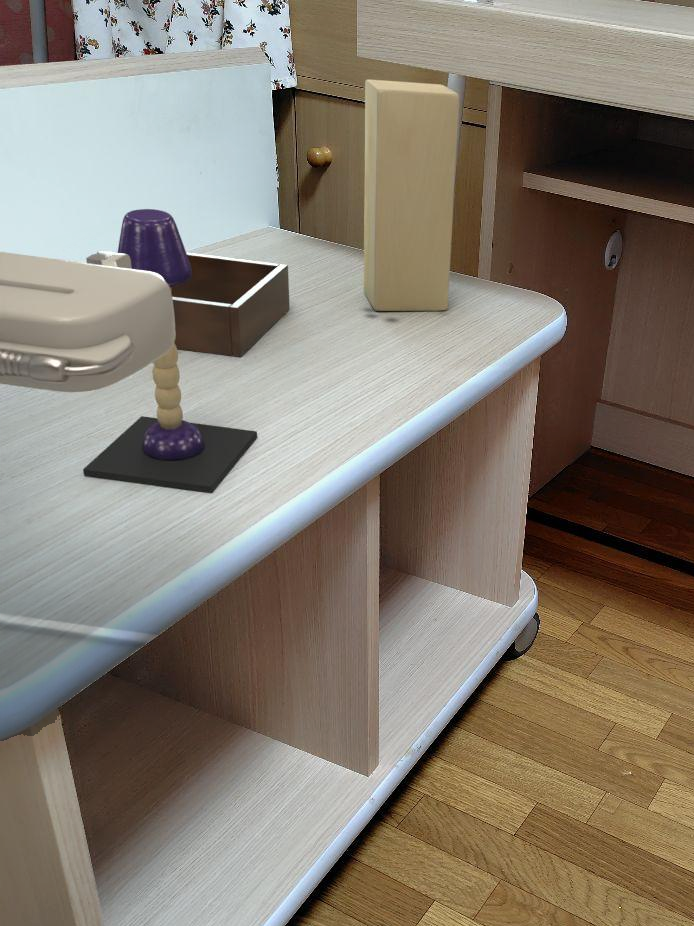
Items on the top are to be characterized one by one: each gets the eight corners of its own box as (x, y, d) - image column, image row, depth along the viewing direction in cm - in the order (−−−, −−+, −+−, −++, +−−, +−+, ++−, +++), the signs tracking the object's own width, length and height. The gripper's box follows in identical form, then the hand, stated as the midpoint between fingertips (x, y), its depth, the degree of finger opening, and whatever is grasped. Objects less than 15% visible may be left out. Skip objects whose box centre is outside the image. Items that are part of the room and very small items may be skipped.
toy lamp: (221, 452, 71) (201, 217, 63) (162, 471, 68) (133, 227, 59) (184, 429, 74) (160, 200, 65) (125, 446, 71) (92, 208, 62)
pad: (83, 475, 68) (82, 469, 67) (142, 421, 75) (141, 415, 75) (211, 492, 67) (211, 486, 67) (257, 437, 75) (257, 431, 75)
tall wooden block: (433, 288, 109) (441, 82, 98) (450, 311, 103) (460, 94, 92) (361, 289, 107) (361, 77, 96) (374, 312, 101) (375, 89, 90)
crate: (92, 337, 88) (85, 288, 86) (158, 292, 100) (153, 247, 98) (241, 357, 88) (237, 308, 85) (289, 309, 99) (288, 264, 97)
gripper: (84, 305, 38) (220, 219, 50) (-421, 238, 39) (-170, 169, 51) (106, 451, 41) (228, 338, 53) (-360, 386, 42) (-138, 289, 54)
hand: (31, 255), depth 52 cm, fingers open, 8 cm apart
